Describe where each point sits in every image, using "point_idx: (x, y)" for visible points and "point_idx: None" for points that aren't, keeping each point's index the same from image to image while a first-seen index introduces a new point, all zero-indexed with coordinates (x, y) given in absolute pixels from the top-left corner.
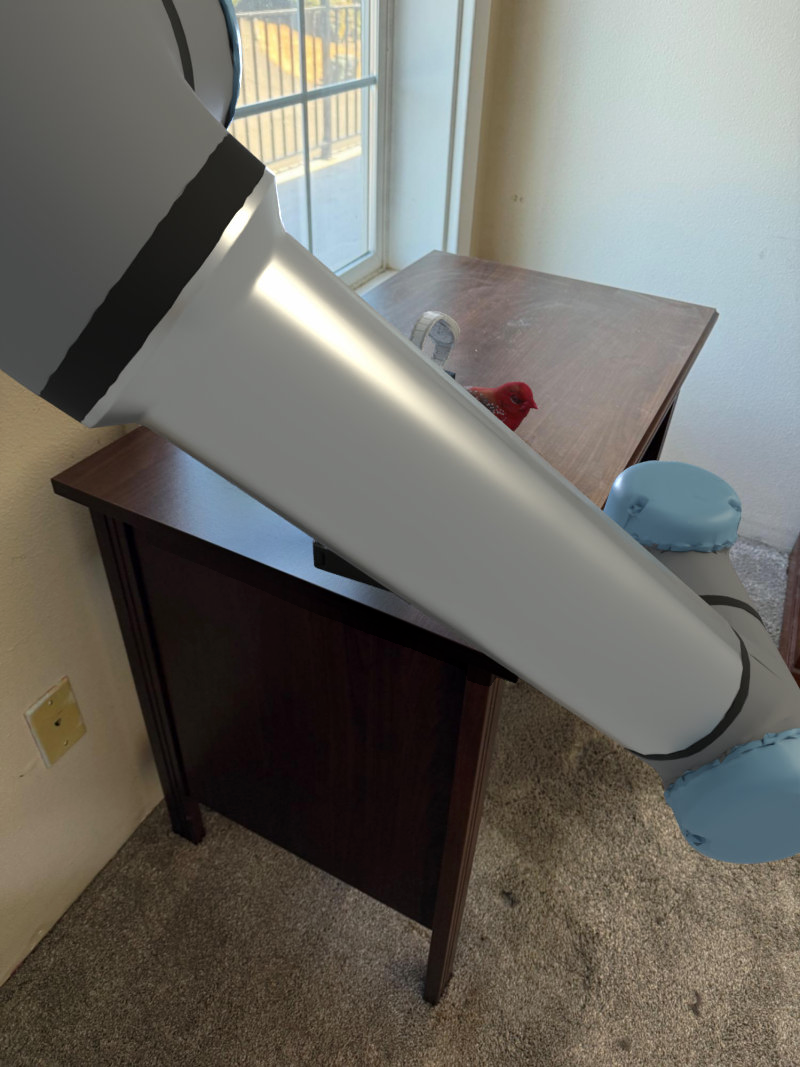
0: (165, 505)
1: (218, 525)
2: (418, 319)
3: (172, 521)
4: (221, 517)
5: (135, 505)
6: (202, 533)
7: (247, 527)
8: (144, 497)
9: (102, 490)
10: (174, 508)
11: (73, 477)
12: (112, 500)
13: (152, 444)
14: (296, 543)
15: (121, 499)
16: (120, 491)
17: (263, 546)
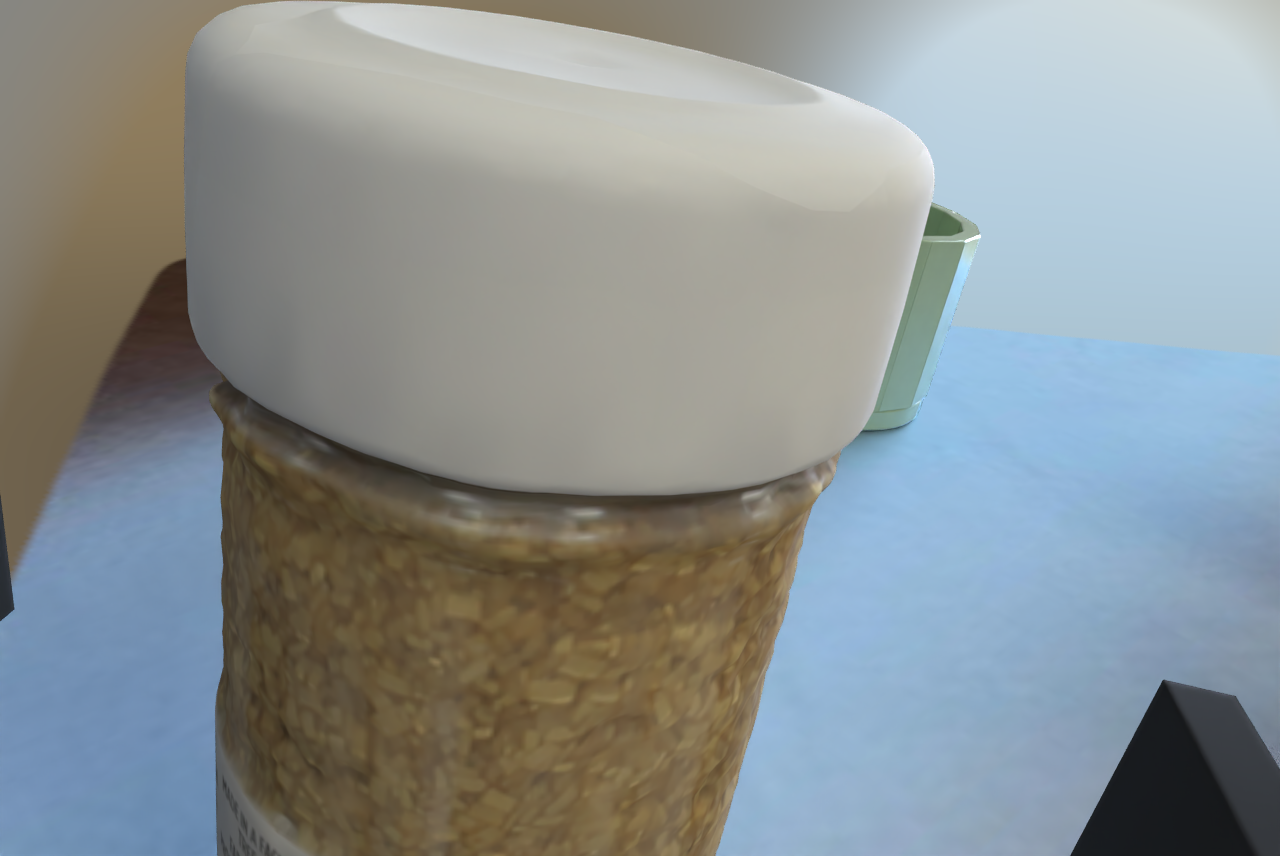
0: (181, 403)
1: (142, 538)
2: None
3: (95, 443)
4: (202, 525)
5: (138, 362)
6: (58, 524)
7: (182, 612)
8: (194, 362)
9: (172, 304)
10: (178, 422)
11: None
12: (135, 327)
13: None
14: (155, 831)
15: (151, 336)
16: (191, 325)
17: (55, 725)
